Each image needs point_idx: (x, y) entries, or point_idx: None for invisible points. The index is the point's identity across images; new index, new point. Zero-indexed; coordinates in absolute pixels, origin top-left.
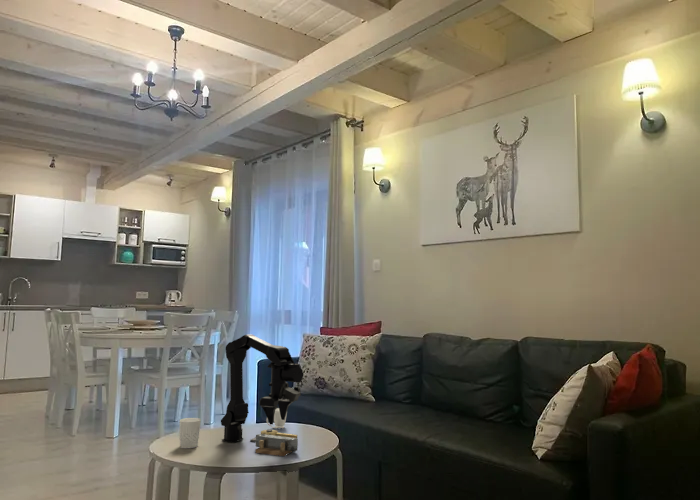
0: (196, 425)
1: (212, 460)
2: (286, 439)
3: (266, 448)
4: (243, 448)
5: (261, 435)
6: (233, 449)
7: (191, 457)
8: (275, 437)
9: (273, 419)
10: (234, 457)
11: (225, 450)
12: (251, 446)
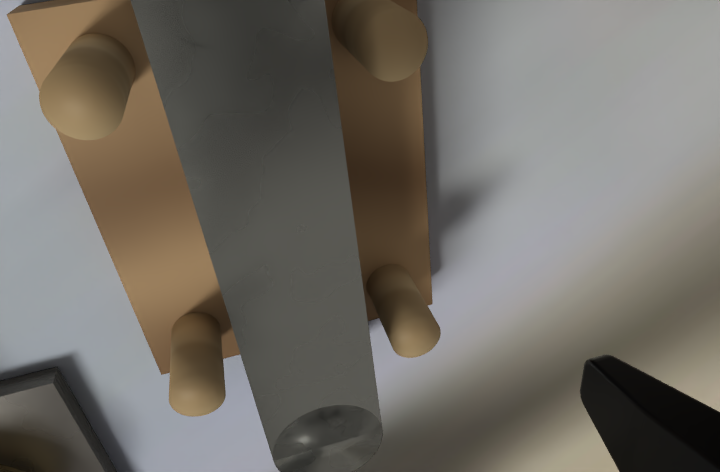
0: None
1: (709, 341)
2: (329, 40)
3: None
4: None
5: (337, 429)
6: (423, 446)
7: None
8: (321, 259)
9: (680, 422)
10: (608, 299)
11: (471, 456)
12: None
